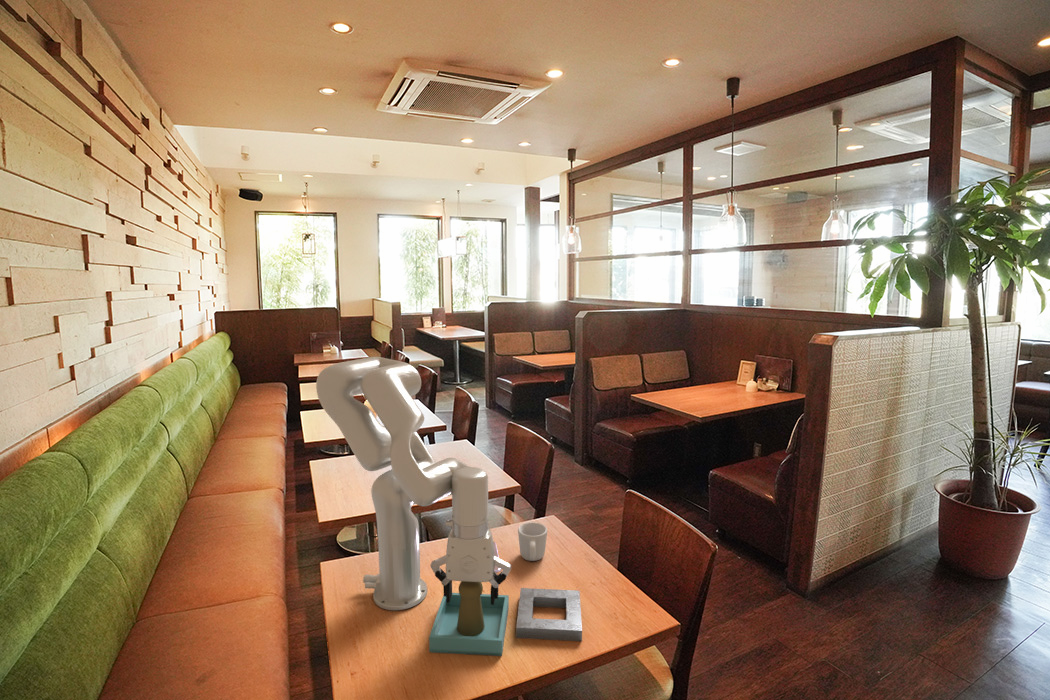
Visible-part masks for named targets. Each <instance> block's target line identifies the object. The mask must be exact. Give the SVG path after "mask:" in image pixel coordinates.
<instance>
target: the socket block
mask: <svg viewBox="0 0 1050 700" xmlns="http://www.w3.org/2000/svg"><path fill="white" fill-rule="evenodd" d="M580 593H581V591H580V590H576V589H575V590H574V589H573V590H571V589H555V588H554V589H552V588H551V589H550V588H532V587H531V588H528V587H520V591H519V598H518V599H519V600H518V602H519V603H518V610H517V619H516V625H515V626H516V627H515V628H516V630H515V631H516V632H515V638H516V639H529V640H530V639H531V640H550V641H551V640H552V641H553V640H554V641H571V642H583V622H582V610H581V609H582V608H581V594H580ZM534 607H535V608H553V609H554V608H555V609H556V608H557V609H565V619H558V618H557V619H556V618H555V619H554V618H553V619H552V618H551V619H550V618H534V617H533V616H534Z"/></svg>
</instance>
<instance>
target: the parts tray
mask: <svg viewBox="0 0 1050 700" xmlns="http://www.w3.org/2000/svg"><path fill="white" fill-rule="evenodd" d="M509 596H510V595H509V594H498V599H495V602H494V605H492V604H491V593H482V594H481V596H480V598H481V605H482V612H483V619H484V626H485V627H484V630H483V631H482V633H480V634H479V635H476V636H463V635H461V634H460V633H459V632H458V631H457V623H458V615H459V608H460V601H461V596H460V594H459V592H452V597H451V600H450V602H449V603H446V597H445V596H444V594H443V595H442V598H441V601H440V604H439V607H438V610H437V613H436V616H435V619H434V622H433V624H432V625H433V626H432V628H431V629H430V633H429V636H428V637H429V638H428V639H429V640H428V641H429V647H428V648H429V653H437V654H439V653H440V654H453V655H454V654H455V655H456V654H458V655H477V656H492V657H493V656H494V657H502V656H503V651H504V650H503V649H504V644H505V637H506V631H507V625H508V624H507V623H508V617H509V609H510V607H509V606H510V605H509V603H510V602H509V601H510V600H509V598H510V597H509Z"/></svg>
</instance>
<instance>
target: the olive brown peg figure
mask: <svg viewBox="0 0 1050 700" xmlns="http://www.w3.org/2000/svg"><path fill="white" fill-rule="evenodd" d="M483 591H484V588H483V582H466V581H460V583H459V585H458V593H459V594H460V596H461V601H460V608H459V615H458V623H457V631H458V632H459V633H460V634H461V635H463V636H476V635H479V634H480V633H482V631H483V630H484V627H485V626H484V619H483V612H482V605H481V598H480V596H481V594H483Z"/></svg>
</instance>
